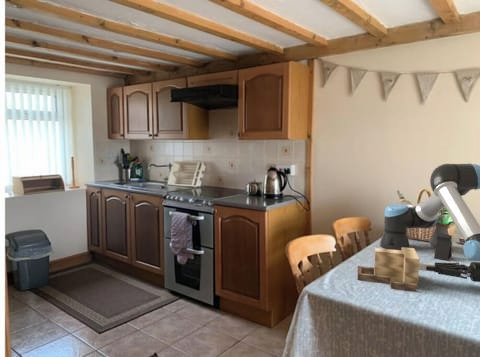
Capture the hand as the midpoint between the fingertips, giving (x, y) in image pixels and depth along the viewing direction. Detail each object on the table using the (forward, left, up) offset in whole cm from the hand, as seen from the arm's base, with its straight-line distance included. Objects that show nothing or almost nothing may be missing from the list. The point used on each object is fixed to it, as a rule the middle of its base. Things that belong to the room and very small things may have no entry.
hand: (416, 266), depth 149 cm
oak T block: (+7, -5, -7) cm, 11 cm away
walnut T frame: (+10, -6, -7) cm, 13 cm away
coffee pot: (-52, -46, -7) cm, 70 cm away
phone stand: (-36, -26, -7) cm, 45 cm away
